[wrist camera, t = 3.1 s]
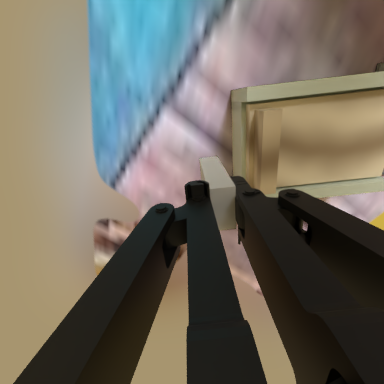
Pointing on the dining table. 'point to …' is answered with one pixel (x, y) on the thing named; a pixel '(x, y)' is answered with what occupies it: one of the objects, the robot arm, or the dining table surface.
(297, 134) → the cover plate
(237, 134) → the sage box
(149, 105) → the dining table surface
